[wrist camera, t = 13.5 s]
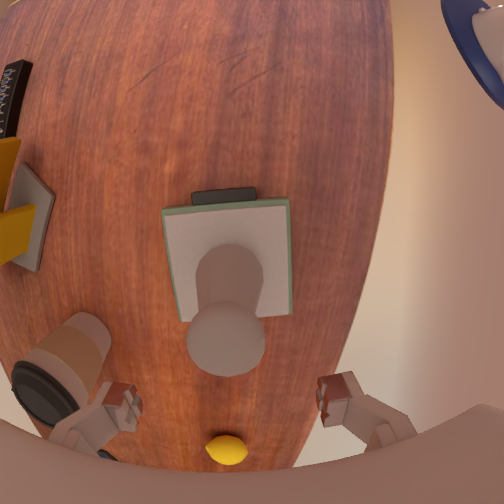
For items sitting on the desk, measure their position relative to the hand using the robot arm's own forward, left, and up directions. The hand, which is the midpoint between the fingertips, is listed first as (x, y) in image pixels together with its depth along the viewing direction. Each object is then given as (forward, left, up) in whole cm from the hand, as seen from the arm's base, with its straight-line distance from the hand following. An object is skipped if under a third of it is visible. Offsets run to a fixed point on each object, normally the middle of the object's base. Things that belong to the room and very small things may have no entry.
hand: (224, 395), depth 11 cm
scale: (0, 0, -19) cm, 19 cm away
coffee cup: (+20, +9, -19) cm, 29 cm away
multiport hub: (+28, -24, -19) cm, 41 cm away
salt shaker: (0, 0, -16) cm, 16 cm away
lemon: (+4, +31, -19) cm, 36 cm away
